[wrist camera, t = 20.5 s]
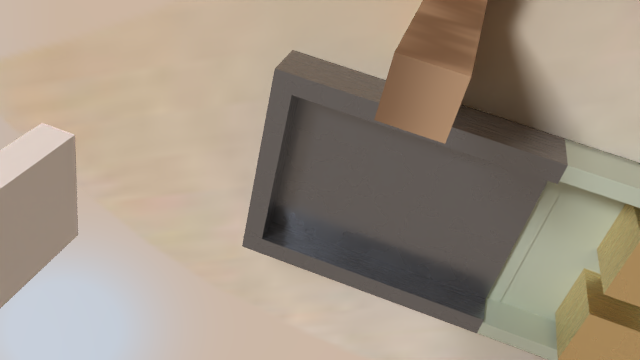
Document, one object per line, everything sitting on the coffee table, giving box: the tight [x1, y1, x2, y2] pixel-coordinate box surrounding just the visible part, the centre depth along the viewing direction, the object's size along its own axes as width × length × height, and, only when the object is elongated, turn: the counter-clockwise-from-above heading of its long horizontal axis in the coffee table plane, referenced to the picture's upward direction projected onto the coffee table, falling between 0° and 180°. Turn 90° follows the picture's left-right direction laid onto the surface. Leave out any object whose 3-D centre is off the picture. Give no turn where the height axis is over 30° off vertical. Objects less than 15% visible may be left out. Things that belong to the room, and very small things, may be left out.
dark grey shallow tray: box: [242, 50, 568, 333], centre depth 37 cm, size 16×13×3 cm
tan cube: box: [555, 268, 640, 360], centre depth 36 cm, size 4×4×4 cm
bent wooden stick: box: [374, 0, 488, 144], centre depth 26 cm, size 3×9×13 cm, turn 168°
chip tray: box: [477, 139, 640, 360], centre depth 35 cm, size 12×13×3 cm
